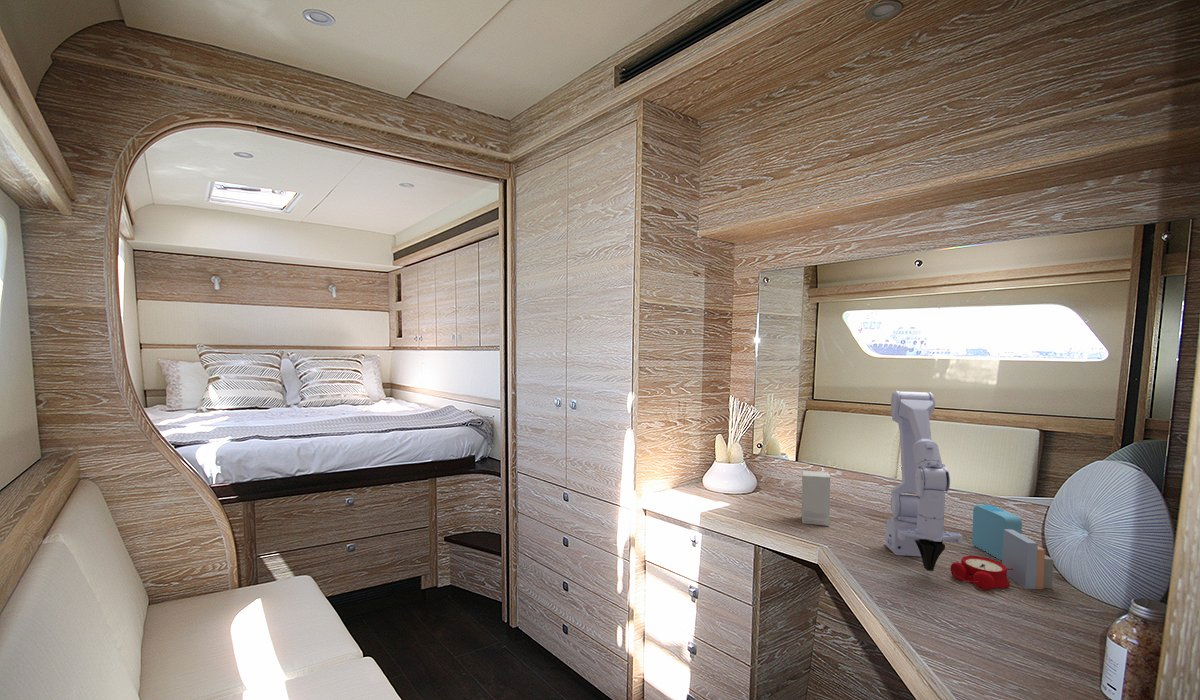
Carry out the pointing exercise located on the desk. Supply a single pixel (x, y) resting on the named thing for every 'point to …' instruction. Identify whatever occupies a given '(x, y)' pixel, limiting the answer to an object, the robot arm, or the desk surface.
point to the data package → (992, 528)
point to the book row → (1026, 561)
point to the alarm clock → (981, 572)
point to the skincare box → (816, 498)
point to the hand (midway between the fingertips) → (928, 569)
